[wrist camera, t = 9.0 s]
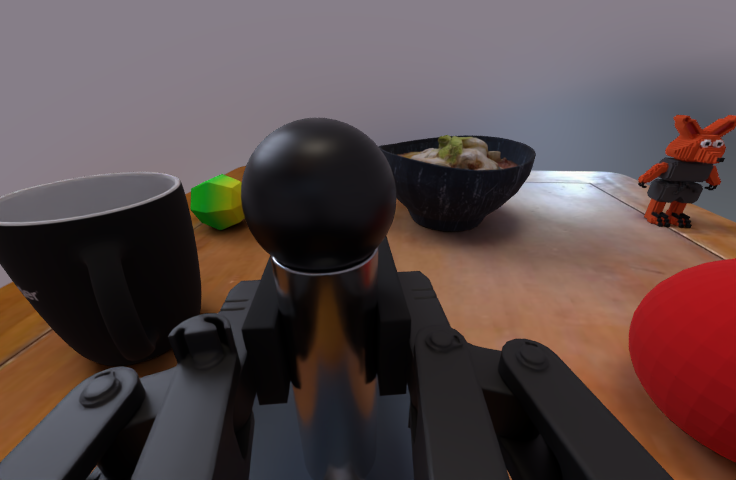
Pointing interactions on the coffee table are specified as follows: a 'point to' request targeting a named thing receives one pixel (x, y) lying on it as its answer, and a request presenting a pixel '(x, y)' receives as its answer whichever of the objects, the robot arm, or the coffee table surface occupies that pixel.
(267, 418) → the grey lever base
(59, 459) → the robot arm
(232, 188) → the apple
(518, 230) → the coffee table surface
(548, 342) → the coffee table surface
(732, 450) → the ornament
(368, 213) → the ball-knob lever
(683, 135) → the toy animal
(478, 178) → the bowl
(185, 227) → the mug
